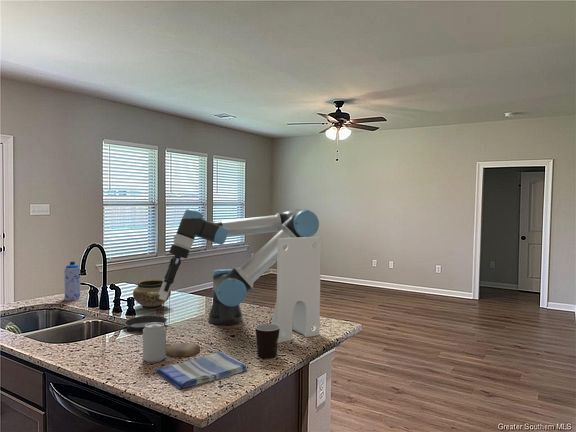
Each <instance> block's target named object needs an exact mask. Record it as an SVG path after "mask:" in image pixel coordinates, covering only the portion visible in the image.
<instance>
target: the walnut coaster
mask: <svg viewBox="0 0 576 432" xmlns="http://www.w3.org/2000/svg"><path fill="white" fill-rule="evenodd" d="M200 351H201V346H200V345H199V344H197V343H194V342H177V343H172V344H170V345H168V346H166V356H169V357H173V358H185V357H191V356H195V355H197V354H198V353H200Z"/></svg>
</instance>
